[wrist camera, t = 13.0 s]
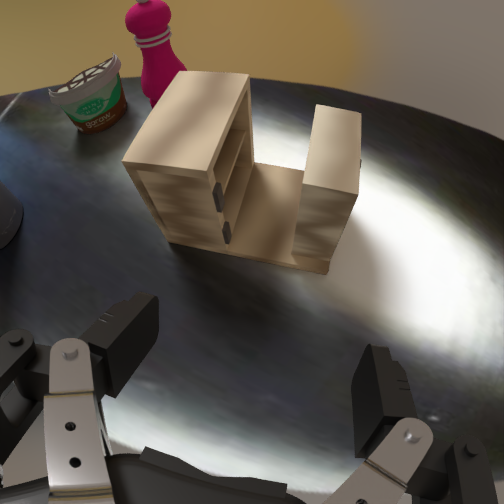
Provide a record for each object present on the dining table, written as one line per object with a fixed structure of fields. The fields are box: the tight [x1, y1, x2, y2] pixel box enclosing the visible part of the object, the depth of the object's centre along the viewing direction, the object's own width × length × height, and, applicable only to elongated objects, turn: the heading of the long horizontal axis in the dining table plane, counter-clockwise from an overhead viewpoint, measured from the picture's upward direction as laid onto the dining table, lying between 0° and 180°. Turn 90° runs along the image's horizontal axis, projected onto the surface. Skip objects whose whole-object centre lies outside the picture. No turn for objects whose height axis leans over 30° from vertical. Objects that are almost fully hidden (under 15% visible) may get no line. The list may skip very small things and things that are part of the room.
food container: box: [49, 53, 127, 134], centre depth 40 cm, size 12×6×10 cm, turn 125°
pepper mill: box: [125, 0, 187, 109], centre depth 36 cm, size 7×7×20 cm
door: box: [291, 104, 361, 261], centre depth 29 cm, size 5×9×12 cm, turn 167°
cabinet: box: [122, 71, 330, 275], centre depth 30 cm, size 18×12×14 cm
